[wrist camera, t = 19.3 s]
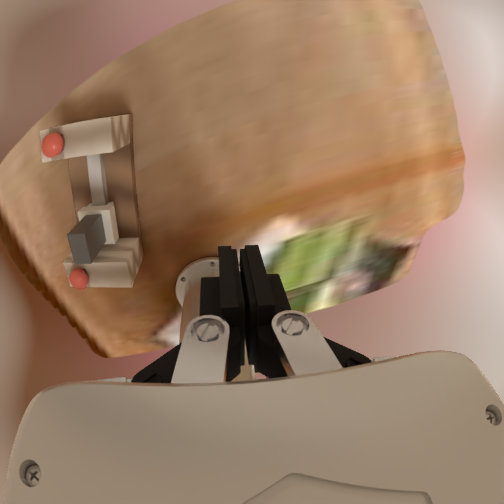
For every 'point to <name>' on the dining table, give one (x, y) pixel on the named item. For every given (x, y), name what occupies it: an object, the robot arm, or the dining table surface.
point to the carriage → (92, 232)
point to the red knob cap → (78, 278)
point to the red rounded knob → (52, 145)
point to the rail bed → (115, 187)
